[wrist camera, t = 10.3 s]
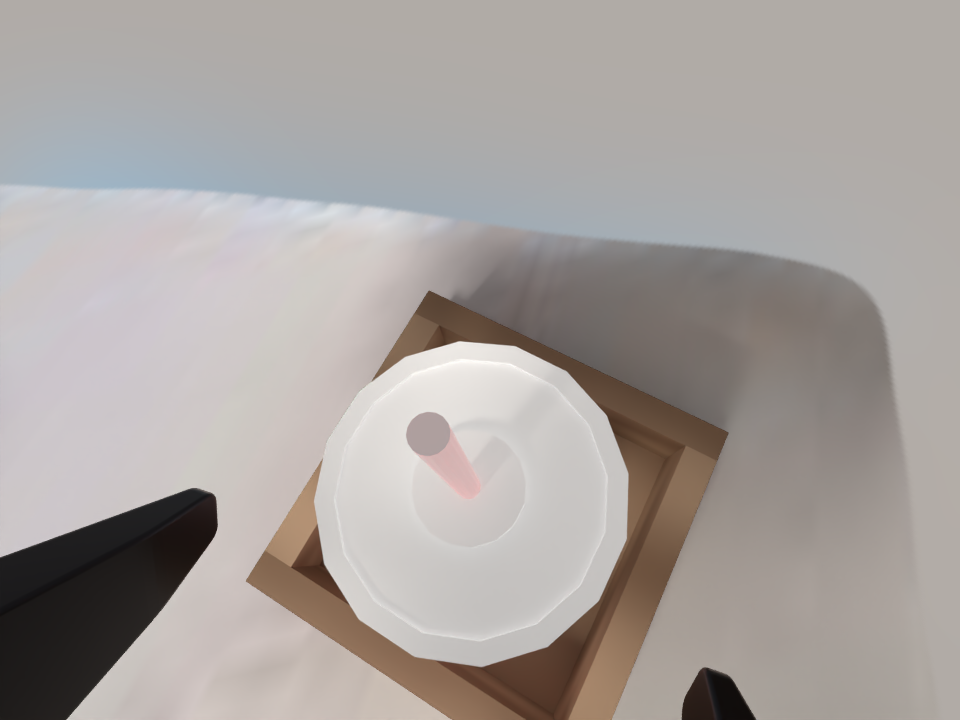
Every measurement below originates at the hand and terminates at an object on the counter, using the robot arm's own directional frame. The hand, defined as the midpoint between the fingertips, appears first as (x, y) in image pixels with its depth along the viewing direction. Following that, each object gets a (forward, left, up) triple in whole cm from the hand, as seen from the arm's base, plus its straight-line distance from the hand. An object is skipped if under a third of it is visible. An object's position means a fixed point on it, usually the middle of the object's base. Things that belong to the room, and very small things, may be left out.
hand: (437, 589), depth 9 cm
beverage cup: (+2, 0, -10) cm, 10 cm away
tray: (+2, 0, -10) cm, 11 cm away
